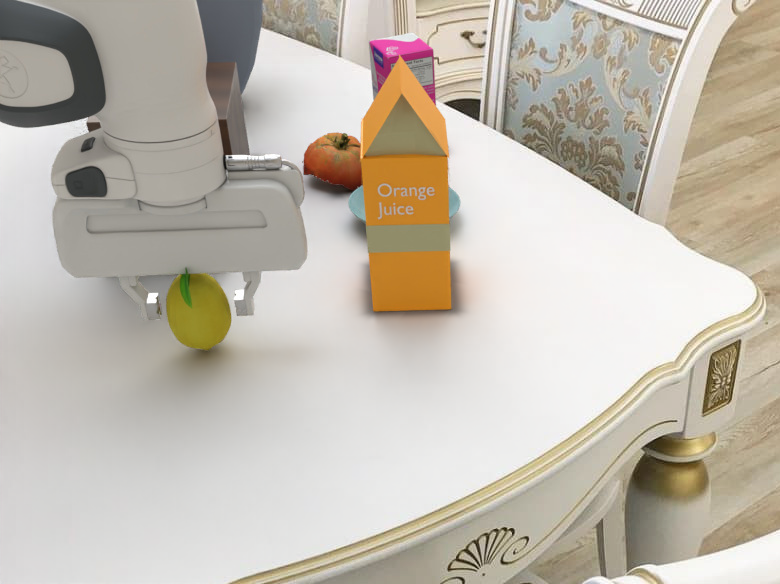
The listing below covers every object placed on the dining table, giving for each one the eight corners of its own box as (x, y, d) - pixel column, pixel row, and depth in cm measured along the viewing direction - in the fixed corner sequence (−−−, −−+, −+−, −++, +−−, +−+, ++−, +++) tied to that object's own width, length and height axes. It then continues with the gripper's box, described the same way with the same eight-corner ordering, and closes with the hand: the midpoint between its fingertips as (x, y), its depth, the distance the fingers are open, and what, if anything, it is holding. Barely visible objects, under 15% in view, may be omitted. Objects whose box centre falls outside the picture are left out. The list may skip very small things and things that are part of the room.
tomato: (329, 189, 120) (307, 122, 119) (304, 214, 125) (282, 150, 125) (391, 182, 124) (370, 116, 123) (363, 206, 130) (343, 144, 129)
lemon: (206, 378, 97) (184, 272, 90) (157, 358, 99) (131, 253, 92) (256, 343, 101) (239, 240, 94) (208, 325, 103) (187, 222, 96)
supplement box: (374, 142, 132) (367, 38, 124) (419, 133, 134) (415, 31, 126) (393, 161, 129) (387, 55, 120) (439, 151, 131) (436, 47, 122)
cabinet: (243, 221, 118) (226, 119, 110) (112, 225, 116) (86, 122, 109) (250, 159, 128) (236, 61, 121) (130, 162, 127) (108, 64, 119)
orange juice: (371, 311, 106) (353, 92, 91) (371, 266, 112) (355, 53, 97) (453, 309, 106) (448, 91, 92) (449, 264, 112) (444, 52, 98)
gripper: (300, 137, 91) (318, 292, 101) (43, 144, 89) (88, 300, 99) (298, 170, 86) (318, 328, 96) (28, 178, 85) (76, 338, 95)
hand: (199, 314), depth 98 cm, fingers open, 7 cm apart
